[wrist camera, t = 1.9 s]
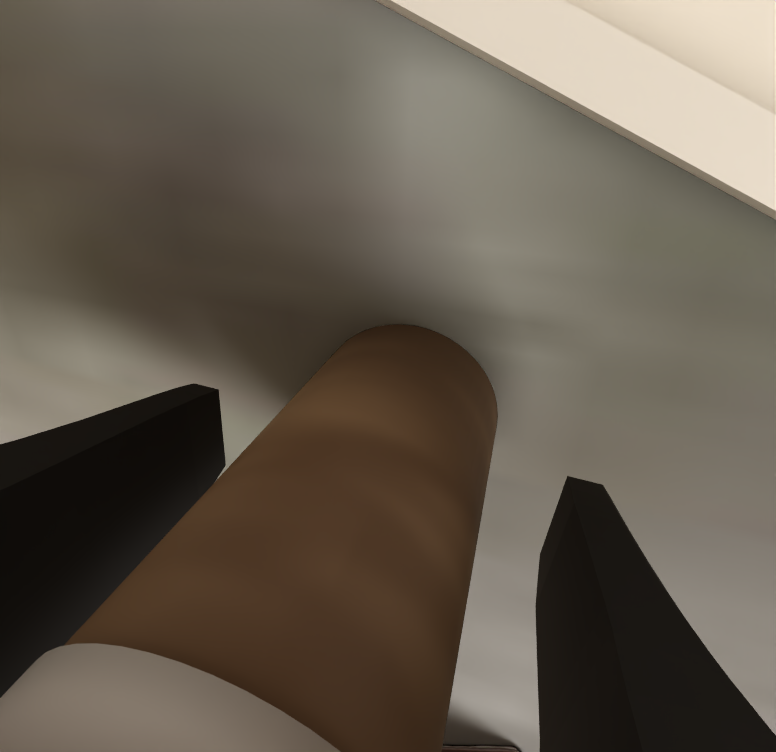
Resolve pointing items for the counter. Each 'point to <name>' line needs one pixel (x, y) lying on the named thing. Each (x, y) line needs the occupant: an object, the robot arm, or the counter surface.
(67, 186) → the counter surface
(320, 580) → the shaker
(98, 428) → the robot arm
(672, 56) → the tray
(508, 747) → the box
